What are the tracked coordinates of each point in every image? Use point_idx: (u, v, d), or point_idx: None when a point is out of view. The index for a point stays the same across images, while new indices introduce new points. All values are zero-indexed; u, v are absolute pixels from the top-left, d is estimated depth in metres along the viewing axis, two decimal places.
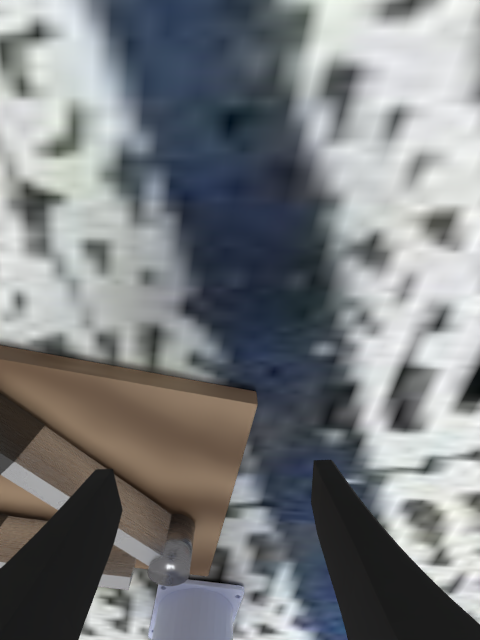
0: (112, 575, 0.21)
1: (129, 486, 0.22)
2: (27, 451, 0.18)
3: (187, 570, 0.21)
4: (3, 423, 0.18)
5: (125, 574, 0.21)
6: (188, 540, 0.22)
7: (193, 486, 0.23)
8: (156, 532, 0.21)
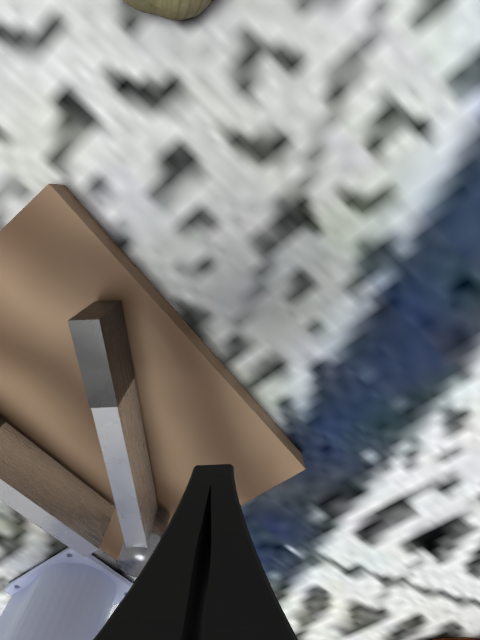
0: (84, 539, 0.20)
1: (149, 466, 0.22)
2: (123, 399, 0.17)
3: None
4: (121, 361, 0.17)
5: (95, 544, 0.21)
6: None
7: None
8: (149, 521, 0.21)
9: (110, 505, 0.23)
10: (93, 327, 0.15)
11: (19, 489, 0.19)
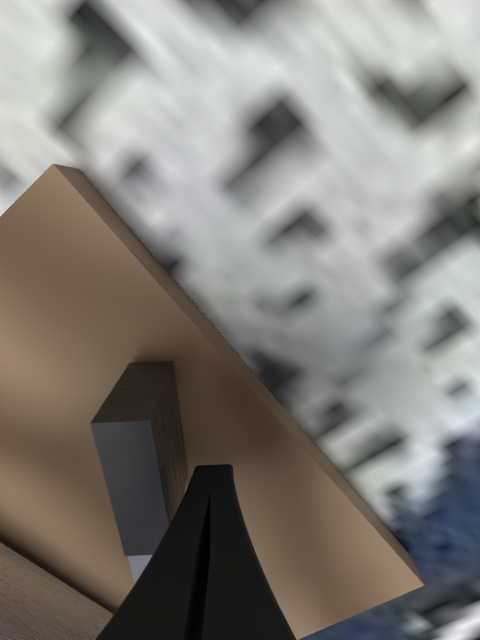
0: None
1: None
2: None
3: None
4: (175, 466, 0.10)
5: None
6: None
7: None
8: None
9: None
10: (139, 433, 0.08)
11: None
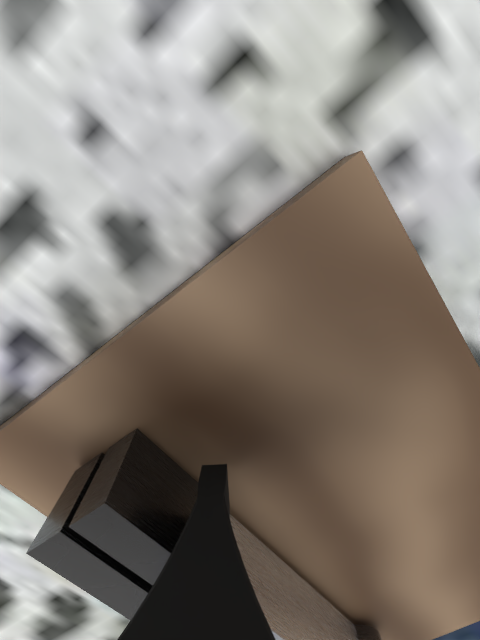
0: None
1: (313, 590, 0.15)
2: None
3: None
4: (185, 513, 0.11)
5: None
6: None
7: (423, 609, 0.16)
8: None
9: None
10: (106, 516, 0.09)
11: None
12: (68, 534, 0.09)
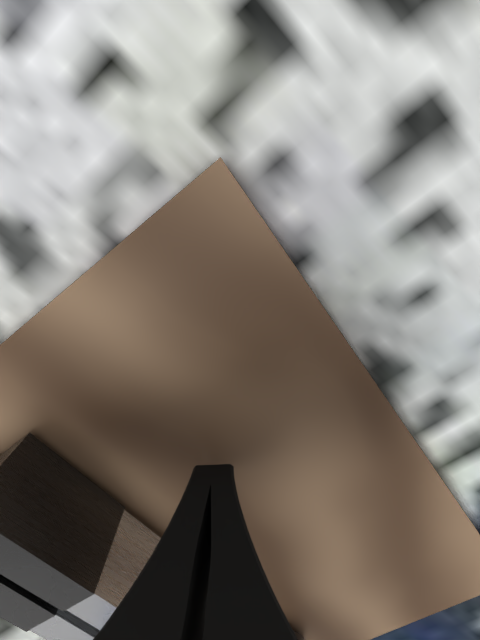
0: None
1: None
2: (108, 565, 0.11)
3: None
4: (72, 517, 0.11)
5: None
6: None
7: (346, 613, 0.16)
8: None
9: None
10: None
11: None
12: None
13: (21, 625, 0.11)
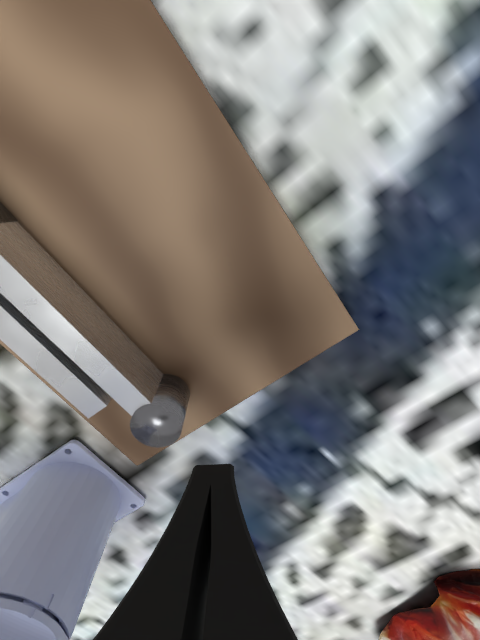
0: (89, 390, 0.16)
1: (116, 326, 0.18)
2: None
3: (179, 425, 0.17)
4: None
5: (103, 400, 0.16)
6: (182, 399, 0.18)
7: (223, 364, 0.19)
8: (145, 379, 0.17)
9: None
10: None
11: (8, 310, 0.15)
12: None
13: None
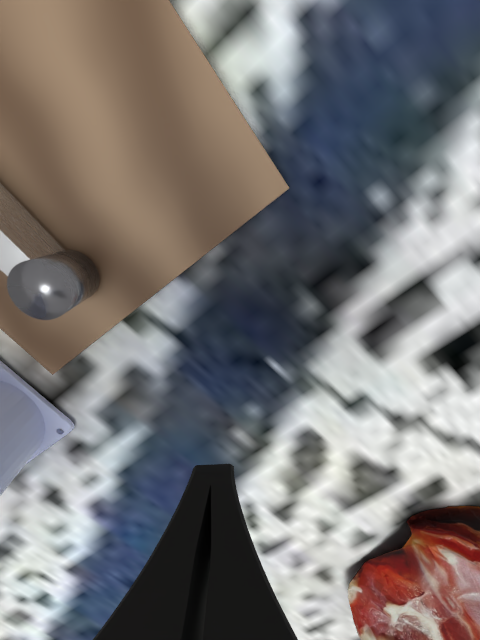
0: None
1: None
2: None
3: (67, 287, 0.14)
4: None
5: None
6: (80, 269, 0.15)
7: (135, 238, 0.17)
8: (29, 239, 0.14)
9: None
10: None
11: None
12: None
13: None
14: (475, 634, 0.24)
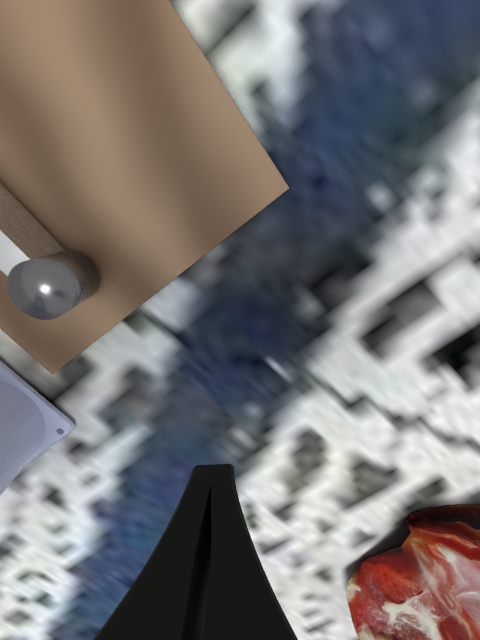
0: None
1: None
2: None
3: (67, 287, 0.14)
4: None
5: None
6: (80, 269, 0.15)
7: (135, 238, 0.17)
8: (29, 239, 0.14)
9: None
10: None
11: None
12: None
13: None
14: (474, 633, 0.24)
